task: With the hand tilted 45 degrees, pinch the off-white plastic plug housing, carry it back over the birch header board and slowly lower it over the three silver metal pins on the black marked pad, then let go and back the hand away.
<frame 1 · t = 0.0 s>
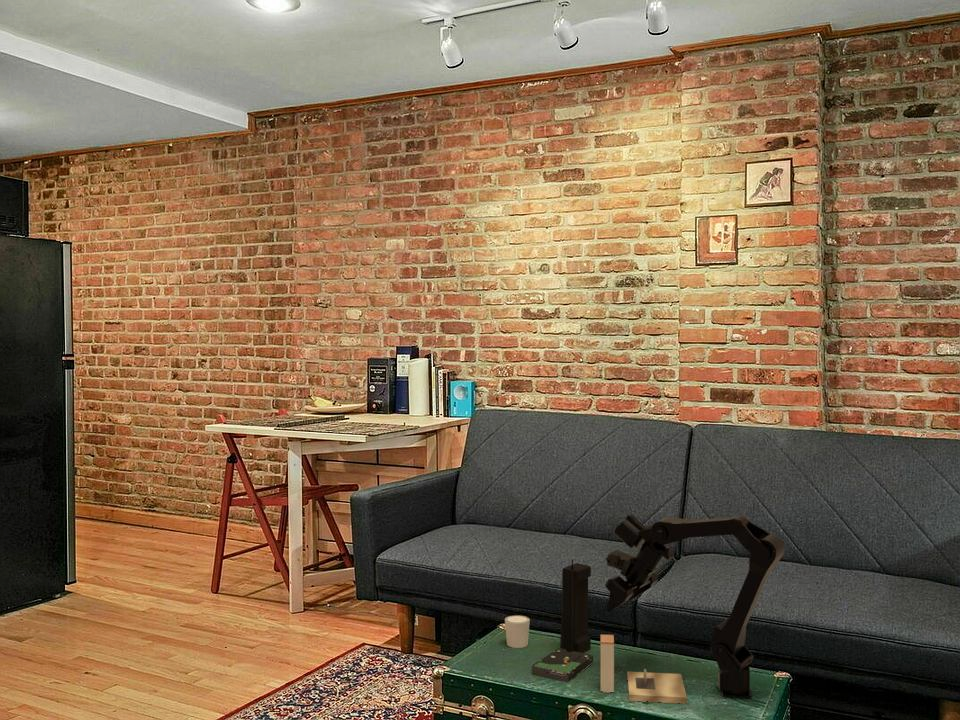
hand: (616, 606, 228), 15 cm above the table, tool tilted 35°, fingers open, 9 cm apart
disk drive: (562, 671, 225), on the table
white cup: (517, 645, 242), on the table
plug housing: (607, 687, 213), on the table
header board: (655, 690, 211), on the table
dark tower with antenna: (575, 650, 238), on the table
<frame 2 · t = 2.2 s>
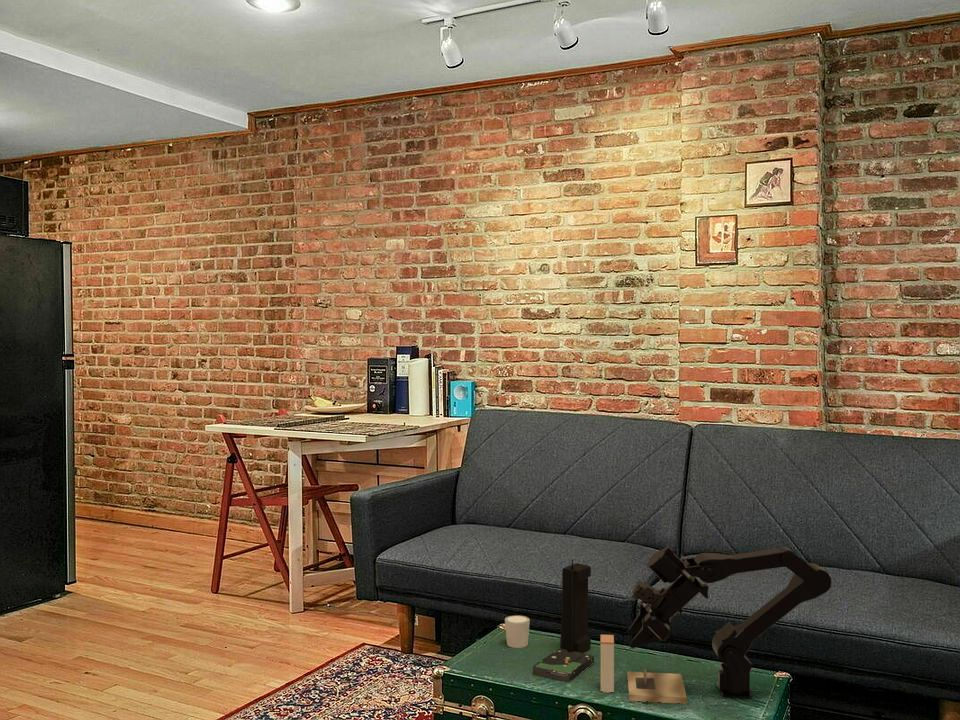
hand: (629, 639, 211), 12 cm above the table, tool tilted 45°, fingers open, 9 cm apart
nothing on the table moved.
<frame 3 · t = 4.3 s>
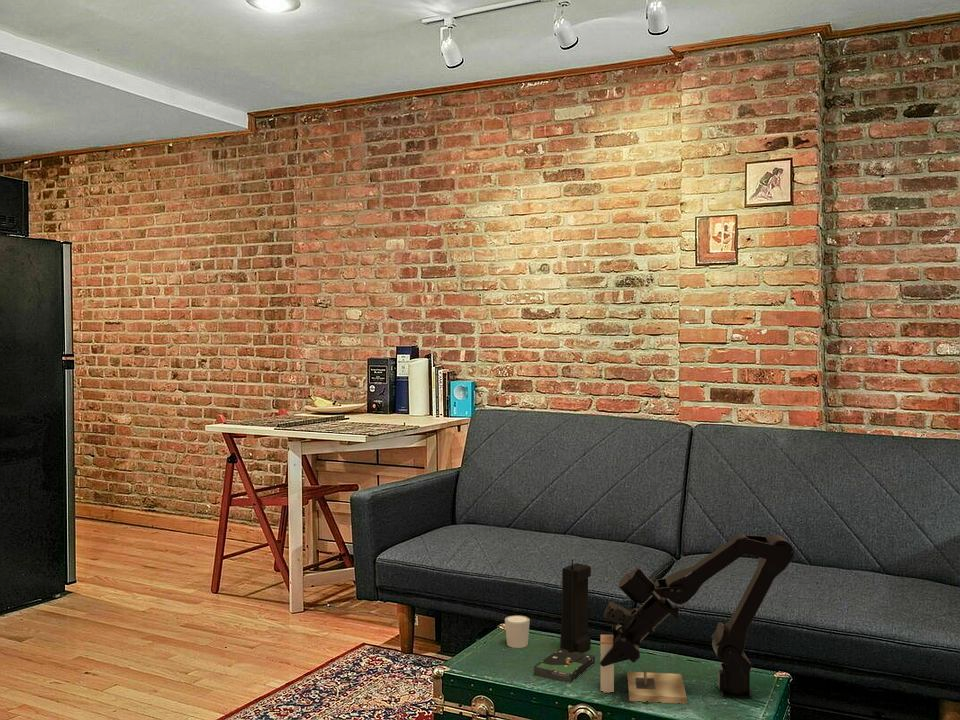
hand: (601, 660, 212), 7 cm above the table, tool tilted 45°, fingers closed on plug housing, 5 cm apart
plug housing: (607, 687, 213), on the table, touching gripper
everything else where it was.
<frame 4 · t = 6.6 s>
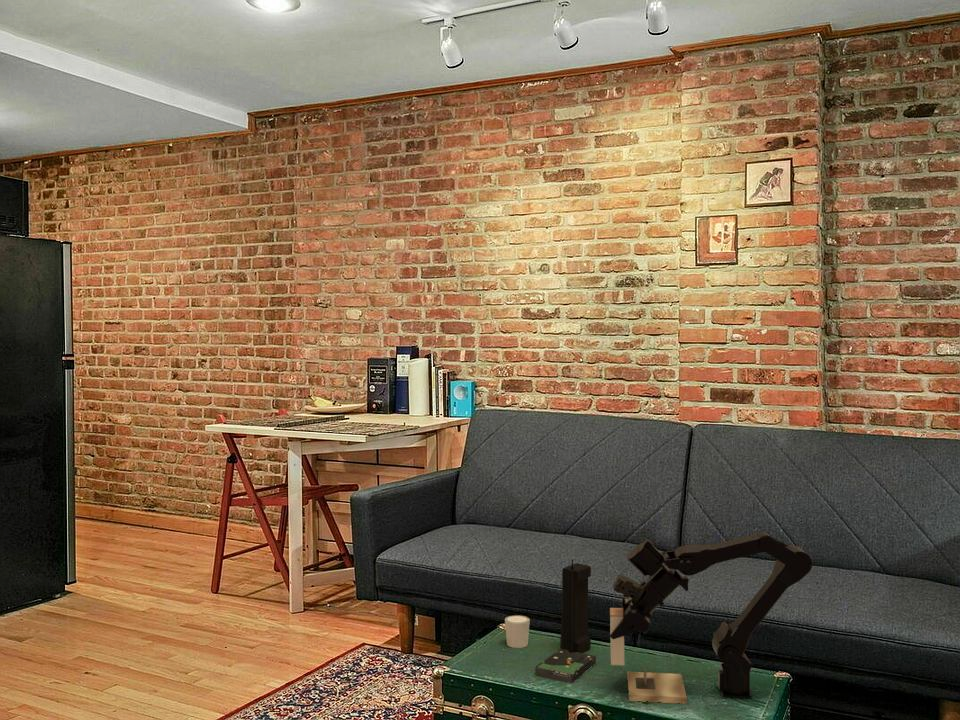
hand: (611, 633, 212), 13 cm above the table, tool tilted 45°, fingers closed on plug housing, 5 cm apart
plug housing: (617, 661, 212), point 7 cm above the table, touching gripper
everything else where it was.
when the fingers open (9 cm above the table, at t = 9.1 s): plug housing stays where it is, resting on header board.
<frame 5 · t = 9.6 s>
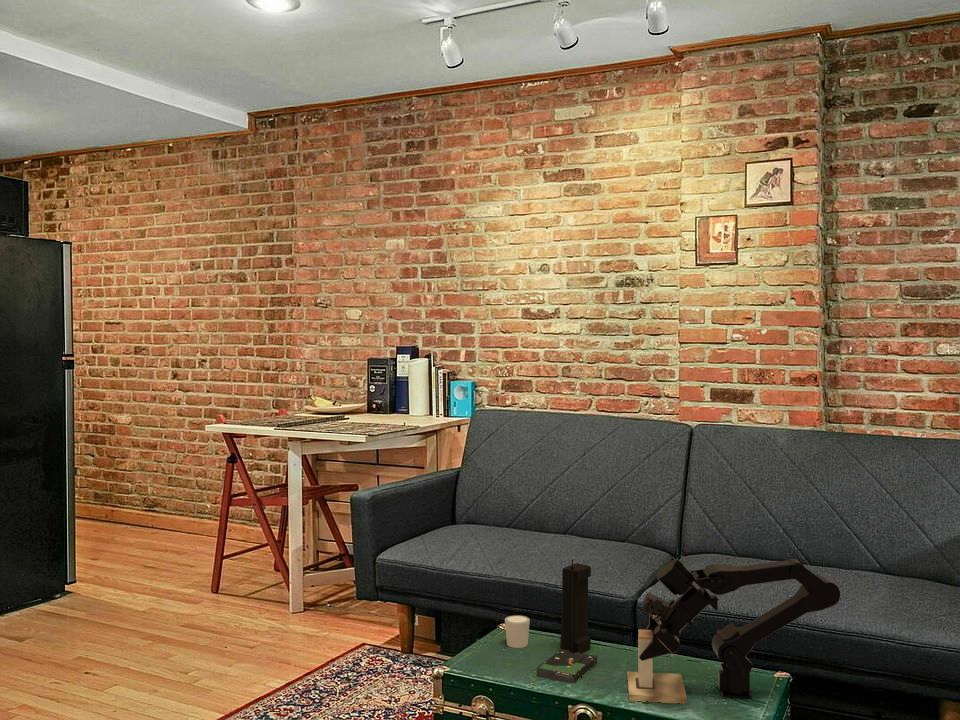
hand: (639, 652, 211), 9 cm above the table, tool tilted 45°, fingers open, 9 cm apart
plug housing: (645, 683, 211), point 2 cm above the table, touching header board
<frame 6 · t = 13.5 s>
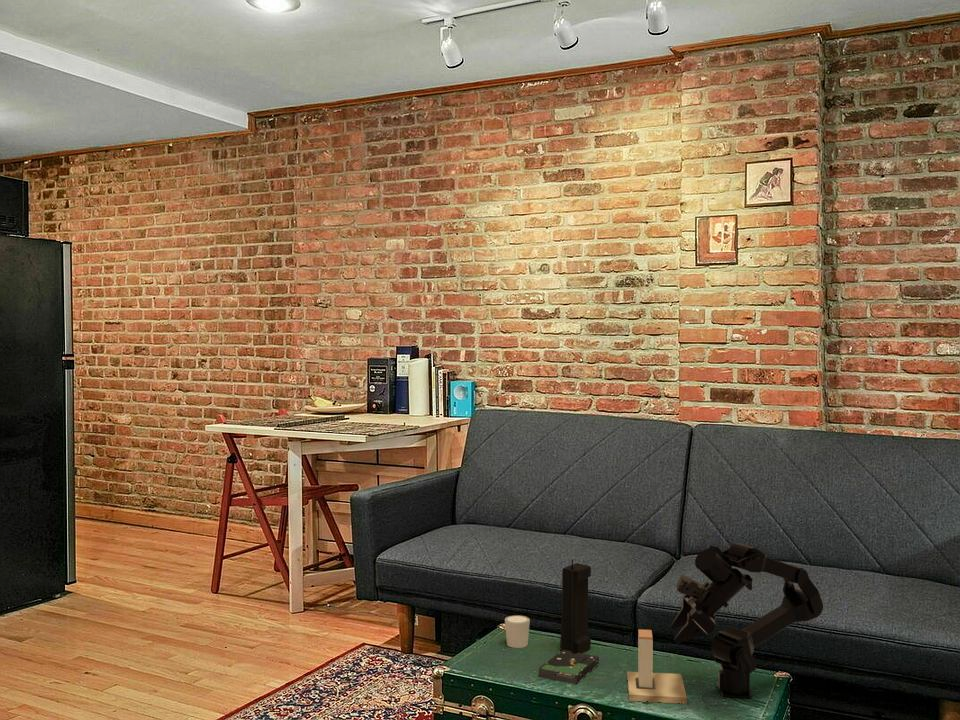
hand: (673, 634, 210), 14 cm above the table, tool tilted 45°, fingers open, 9 cm apart
at the end: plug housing 0.0 cm from the target spot on the header board, point 1.6 cm above the header board's base; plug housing tilted 0°; the gripper is holding nothing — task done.
